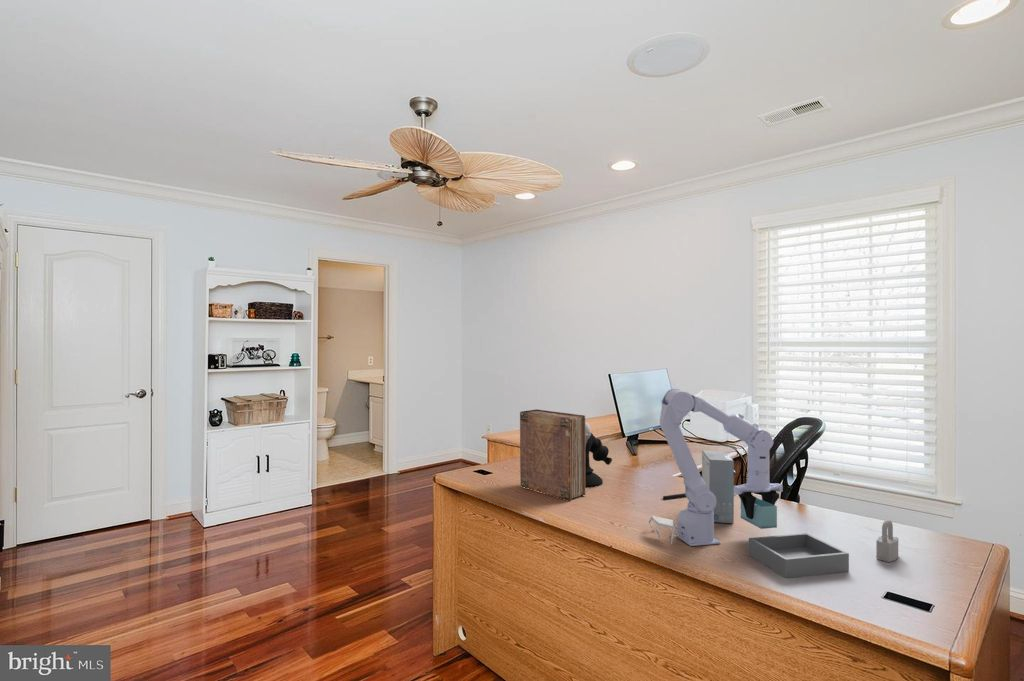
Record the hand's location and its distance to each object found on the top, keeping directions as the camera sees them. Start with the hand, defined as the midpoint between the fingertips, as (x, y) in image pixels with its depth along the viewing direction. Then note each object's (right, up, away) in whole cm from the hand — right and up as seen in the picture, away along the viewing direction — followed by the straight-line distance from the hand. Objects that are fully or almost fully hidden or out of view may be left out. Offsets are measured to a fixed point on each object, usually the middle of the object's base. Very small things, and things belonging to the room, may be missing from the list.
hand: (758, 517), depth 149 cm
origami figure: (-26, -7, +4) cm, 28 cm away
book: (-56, -7, +49) cm, 75 cm away
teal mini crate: (0, -2, 0) cm, 2 cm away
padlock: (+29, -7, -12) cm, 32 cm away
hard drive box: (-3, -7, +22) cm, 23 cm away
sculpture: (-38, -7, +65) cm, 76 cm away
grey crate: (+3, -7, -15) cm, 16 cm away
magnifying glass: (-1, -8, +44) cm, 45 cm away
